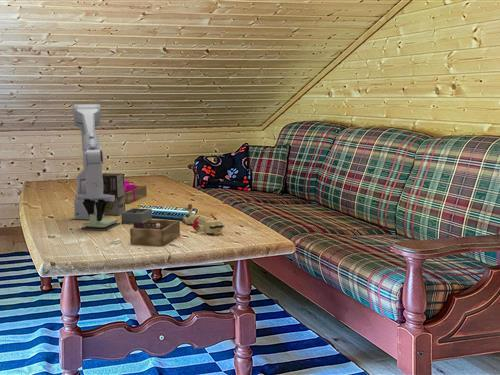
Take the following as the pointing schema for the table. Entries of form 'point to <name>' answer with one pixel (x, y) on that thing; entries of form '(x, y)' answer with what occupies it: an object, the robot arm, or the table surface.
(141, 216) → the tub
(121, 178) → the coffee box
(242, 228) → the table surface
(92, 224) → the lid
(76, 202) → the robot arm
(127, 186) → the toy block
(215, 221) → the cat figure
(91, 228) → the mat
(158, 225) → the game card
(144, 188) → the holders
